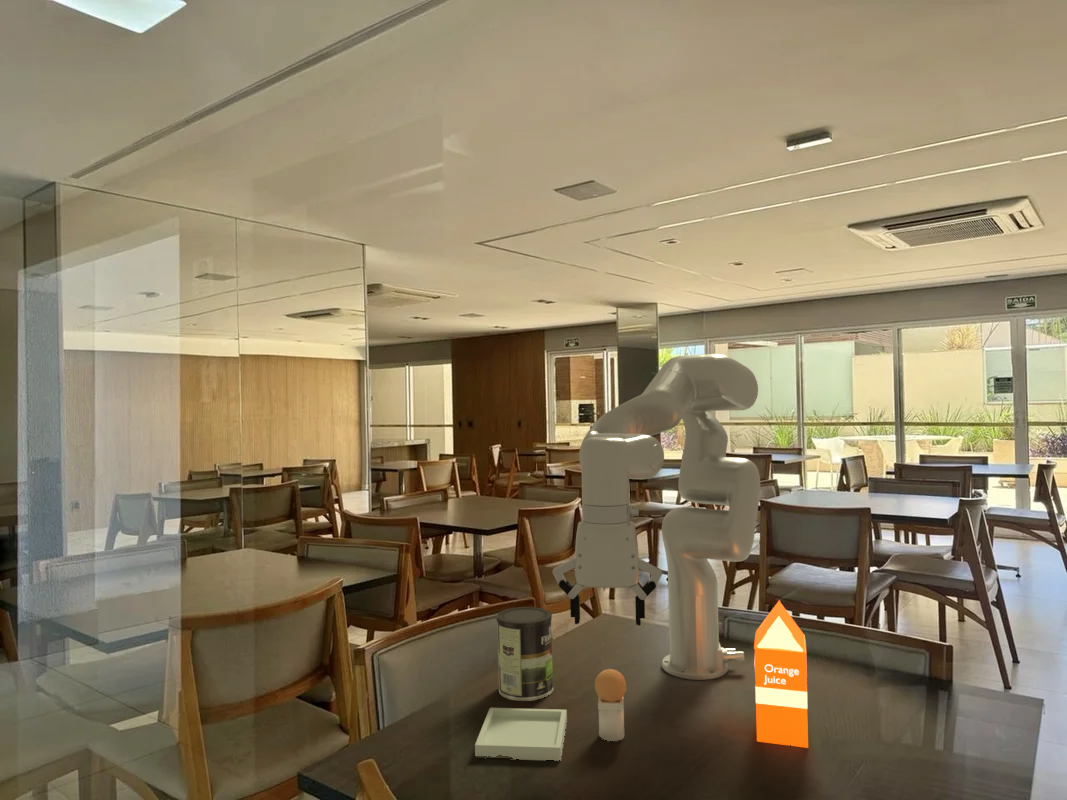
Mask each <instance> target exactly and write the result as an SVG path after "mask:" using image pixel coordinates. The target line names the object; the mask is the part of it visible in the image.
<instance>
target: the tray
mask: <svg viewBox="0 0 1067 800" xmlns="http://www.w3.org/2000/svg"><path fill="white" fill-rule="evenodd" d="M567 711H568V710H567V709H559V708H558V709H553V708H552V709H551V708H517V707H515V708H514V707H513V708H512V707H489V709H488V711H487V714H486V717H485V718H484V721H483V724H482V727H481V729H480V731H479V734H478V736H477V738H476V741H475V744H474V757H475V756H487V757H488V756H491V757H496V756H498V755H502V756H509V757H512V758H513V759H512V760H516V759H519V760H520V761H521V760H523V761H526V760H527V761H546V760H554V761H553V762H561V761H562V757H563V750H564V744H563V743H564V742H565V737H564V736H566V731H565V729H566V730H567V724H568V712H567ZM566 723H567V724H566ZM562 749H563V750H562ZM561 756H562V757H561ZM559 760H560V761H559Z"/></svg>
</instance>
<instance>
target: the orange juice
mask: <svg viewBox="0 0 1067 800" xmlns="http://www.w3.org/2000/svg"><path fill="white" fill-rule="evenodd" d="M753 649H754V658H753V659H754V660H753V663H754V665H753V666H754V667H753V668H754V674H755V679H754V680H755V685H754V686H755V687H754V689H755V710H756V711H755V713H756V714H755V715H756V717H755V718H756V721H755V722H756V723H755V724H756V742H758V743H759V742H760V743H765V744H766V743H767V744H775V745H783V746H789V747H790V745H791V746H792V747H798V748H799V747H800V748H804V749H805V748H806V749H808V748H809V731H808V730H809V727H808V726H809V724H808V720H809V719H808V684H807V682H808V680H807V678H808V673H807V671H808V670H807V661H808V660H807V642H806V636H805V634H804V633H803V631H802V630H801V629H800V627H799V626H798V624H797V622H796V621H795V620H794V619H793V617H792V616H791V615H790V613H789V612H788V611H787V609H786V608H785V607H784V605H783V604H782V603H781V600H780V599H779V600H778V601H777V603H776V604H775V605H774V607H772V609H771V611H770V612H769V613H768V614H767V616H766V617H765V618H764V620H763V621H762V623H761V624H760V625H759V626H758V628H757V629H756V630H755V635H754V644H753Z"/></svg>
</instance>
